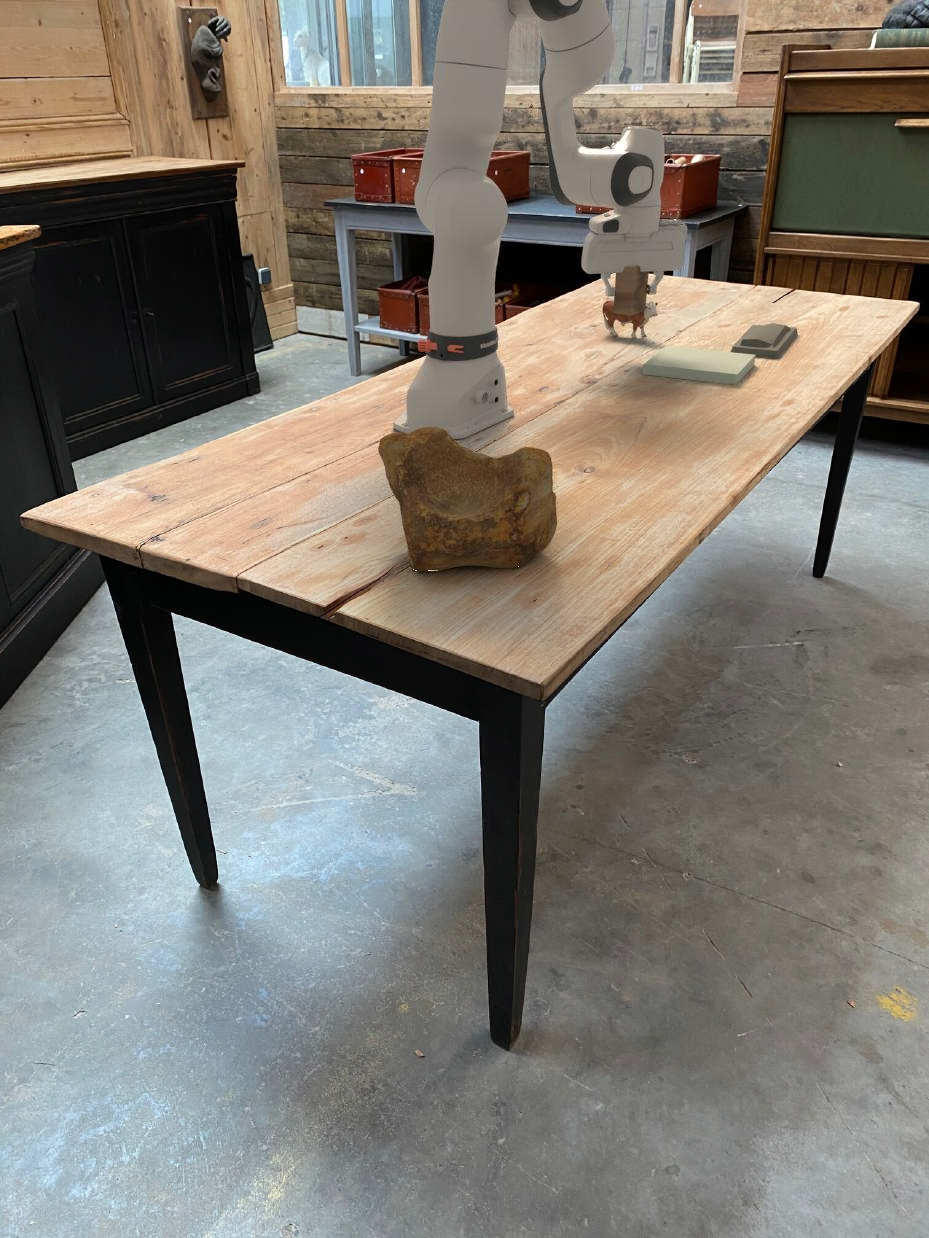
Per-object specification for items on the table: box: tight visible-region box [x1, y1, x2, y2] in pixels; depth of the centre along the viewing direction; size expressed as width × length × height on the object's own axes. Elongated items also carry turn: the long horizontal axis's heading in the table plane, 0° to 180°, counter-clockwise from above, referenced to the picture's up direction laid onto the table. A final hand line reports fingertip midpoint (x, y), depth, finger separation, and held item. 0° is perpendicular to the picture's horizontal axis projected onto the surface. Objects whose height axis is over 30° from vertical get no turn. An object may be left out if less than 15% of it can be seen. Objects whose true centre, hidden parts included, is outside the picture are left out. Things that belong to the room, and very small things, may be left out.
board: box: [642, 345, 756, 386], centre depth 183 cm, size 14×18×2 cm
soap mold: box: [730, 322, 798, 359], centre depth 197 cm, size 10×20×4 cm, turn 152°
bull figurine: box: [602, 299, 659, 340], centre depth 204 cm, size 4×13×8 cm, turn 53°
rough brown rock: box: [377, 427, 558, 571], centre depth 114 cm, size 23×16×15 cm
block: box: [613, 265, 650, 316], centre depth 187 cm, size 6×4×9 cm, turn 142°
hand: (630, 295), depth 188 cm, fingers closed on block, 7 cm apart
